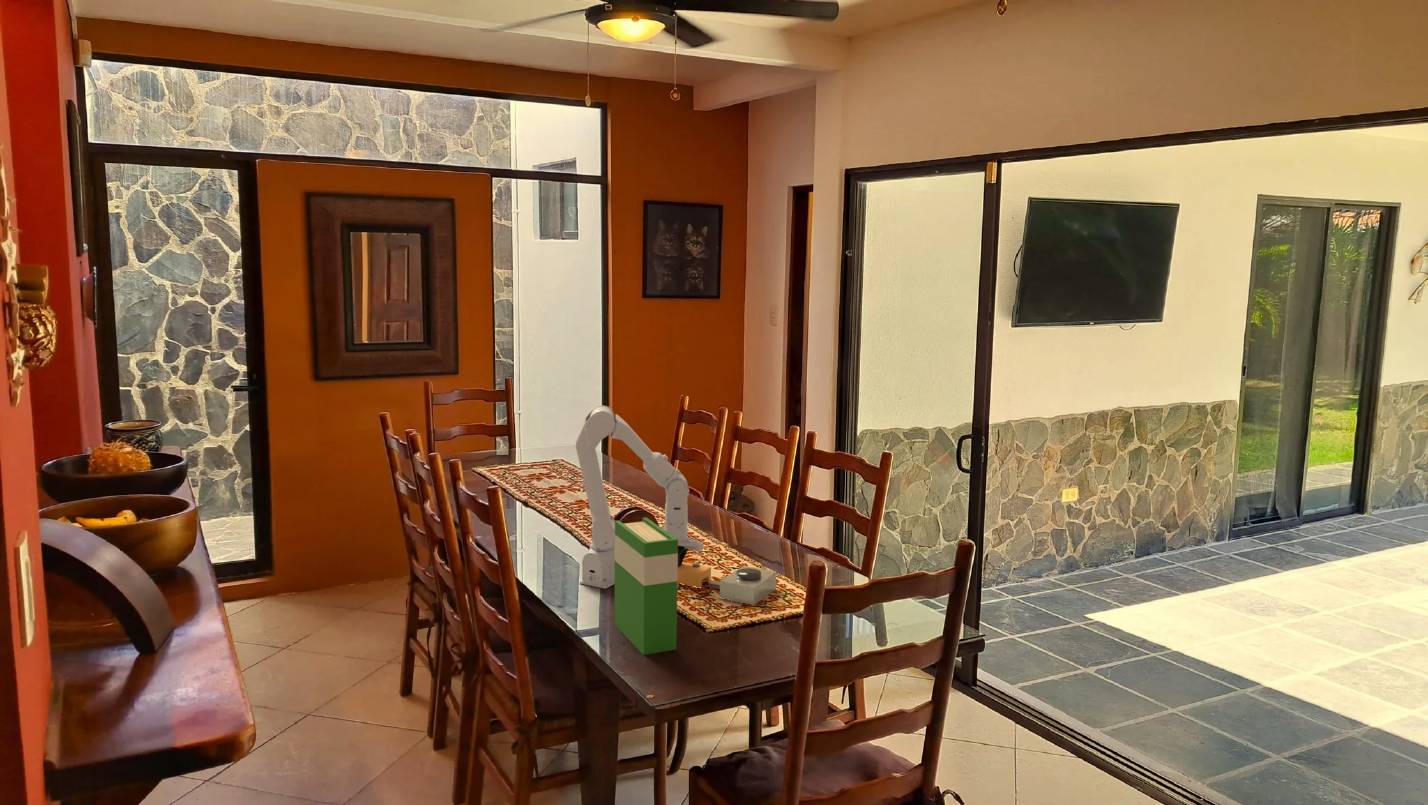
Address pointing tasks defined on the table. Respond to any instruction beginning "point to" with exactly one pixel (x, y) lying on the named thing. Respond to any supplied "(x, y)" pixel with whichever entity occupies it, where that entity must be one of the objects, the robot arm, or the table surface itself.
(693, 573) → the lock block
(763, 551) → the table surface
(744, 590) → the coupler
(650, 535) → the hardback book
